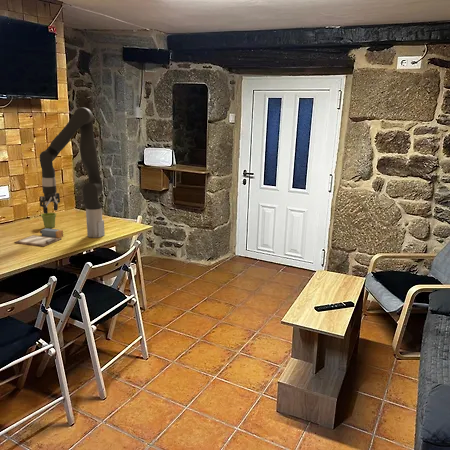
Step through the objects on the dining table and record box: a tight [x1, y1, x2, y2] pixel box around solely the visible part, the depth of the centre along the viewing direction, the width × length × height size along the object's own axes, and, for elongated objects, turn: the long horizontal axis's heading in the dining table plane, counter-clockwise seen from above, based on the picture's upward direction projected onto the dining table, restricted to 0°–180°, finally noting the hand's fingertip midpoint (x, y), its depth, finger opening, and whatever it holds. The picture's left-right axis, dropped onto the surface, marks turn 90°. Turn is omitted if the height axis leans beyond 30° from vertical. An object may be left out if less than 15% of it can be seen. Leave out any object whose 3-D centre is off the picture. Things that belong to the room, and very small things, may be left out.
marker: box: [39, 227, 64, 238], centre depth 253 cm, size 14×4×4 cm, turn 73°
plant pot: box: [40, 212, 57, 229], centre depth 271 cm, size 9×9×9 cm
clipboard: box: [14, 234, 63, 247], centre depth 243 cm, size 20×15×2 cm
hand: (50, 211), depth 250 cm, fingers open, 8 cm apart
